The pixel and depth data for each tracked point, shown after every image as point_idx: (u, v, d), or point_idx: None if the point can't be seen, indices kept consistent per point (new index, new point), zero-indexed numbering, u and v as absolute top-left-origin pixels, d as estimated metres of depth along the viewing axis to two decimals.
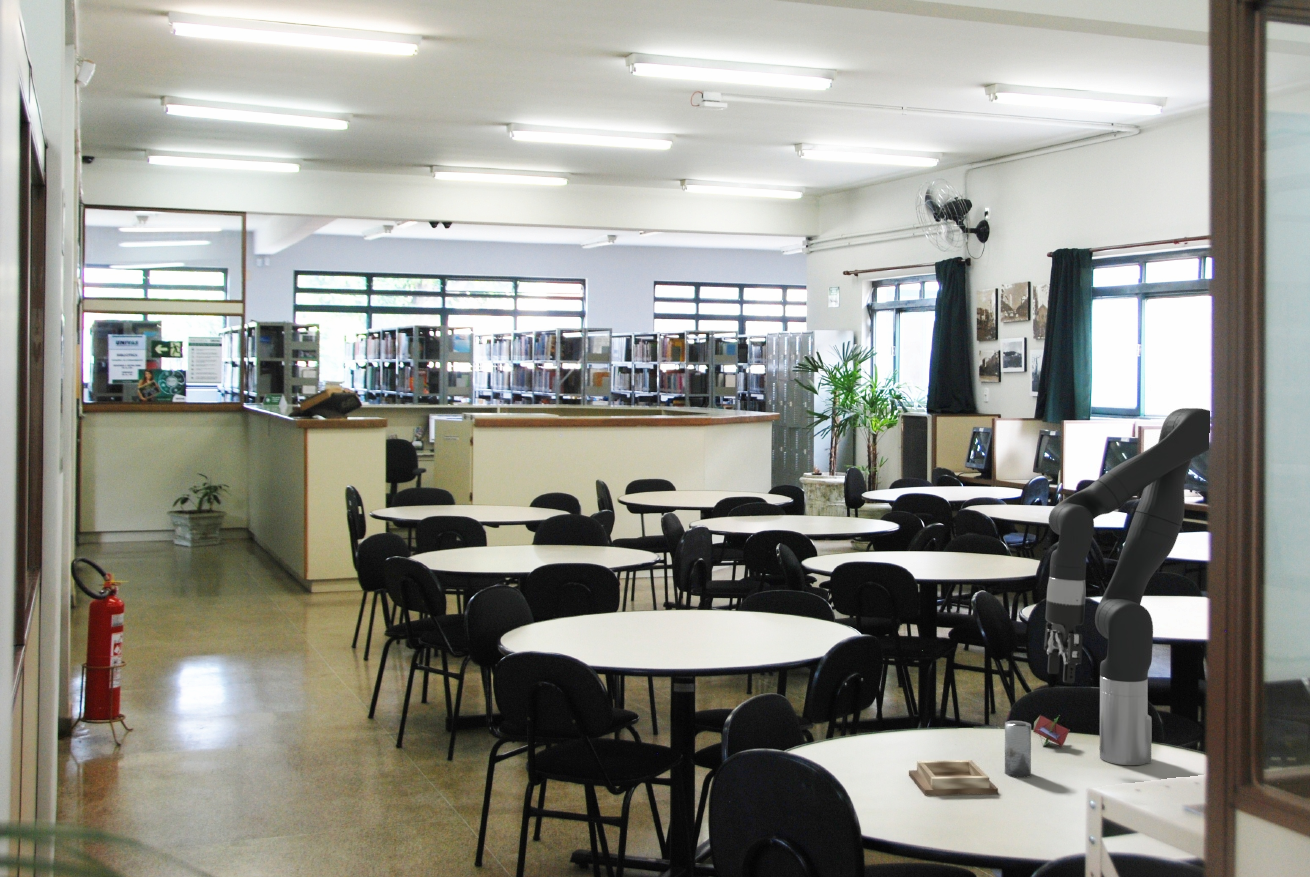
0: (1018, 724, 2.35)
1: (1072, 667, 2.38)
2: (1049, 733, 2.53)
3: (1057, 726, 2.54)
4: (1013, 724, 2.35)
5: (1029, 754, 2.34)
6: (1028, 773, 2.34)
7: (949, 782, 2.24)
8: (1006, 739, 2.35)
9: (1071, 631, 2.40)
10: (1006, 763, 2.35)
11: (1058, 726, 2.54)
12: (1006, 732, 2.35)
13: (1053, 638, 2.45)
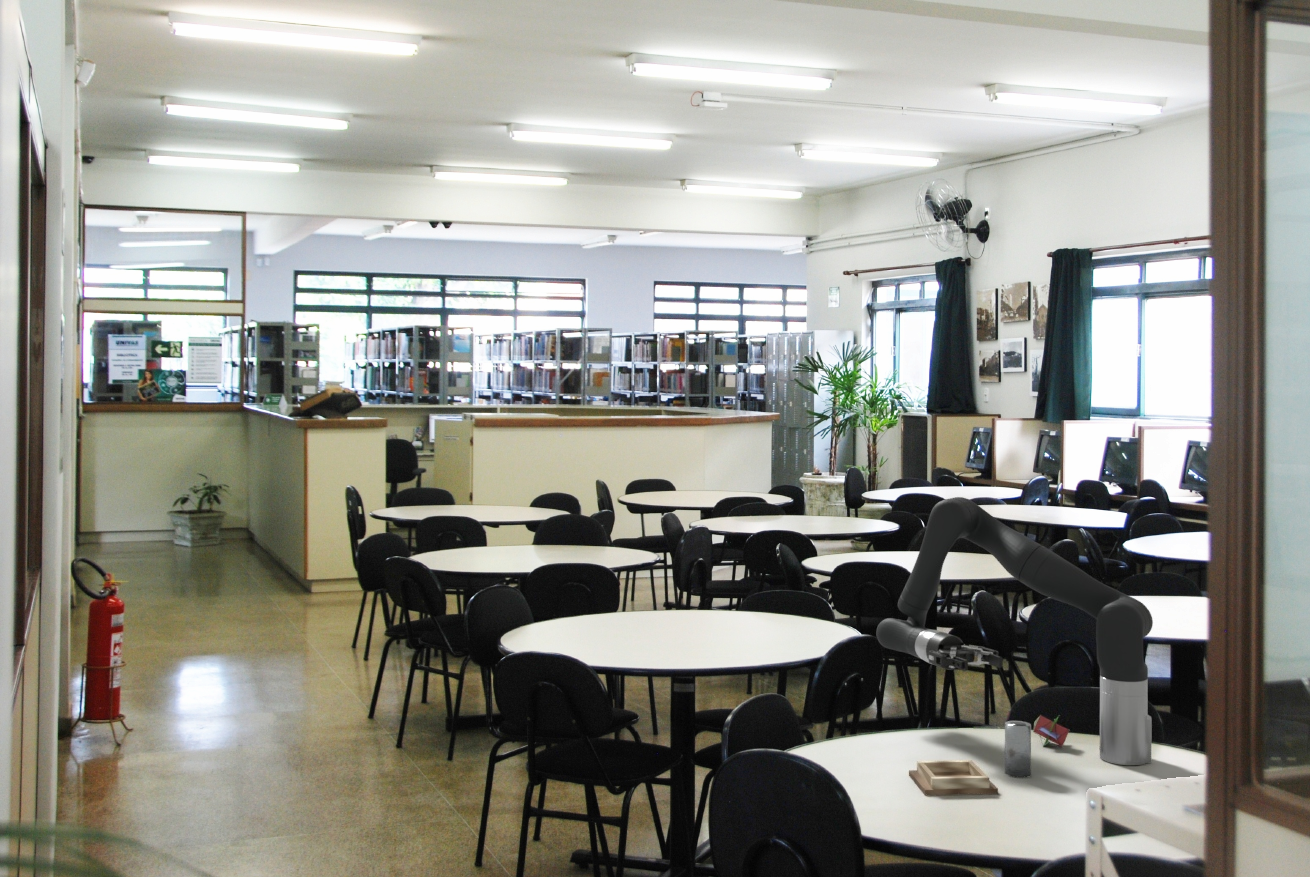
0: (1018, 724, 2.35)
1: (953, 661, 2.47)
2: (1049, 733, 2.53)
3: (1057, 726, 2.55)
4: (1013, 724, 2.35)
5: (1029, 754, 2.34)
6: (1028, 773, 2.34)
7: (949, 782, 2.24)
8: (1006, 739, 2.35)
9: None
10: (1006, 763, 2.35)
11: (1058, 726, 2.54)
12: (1006, 732, 2.35)
13: None
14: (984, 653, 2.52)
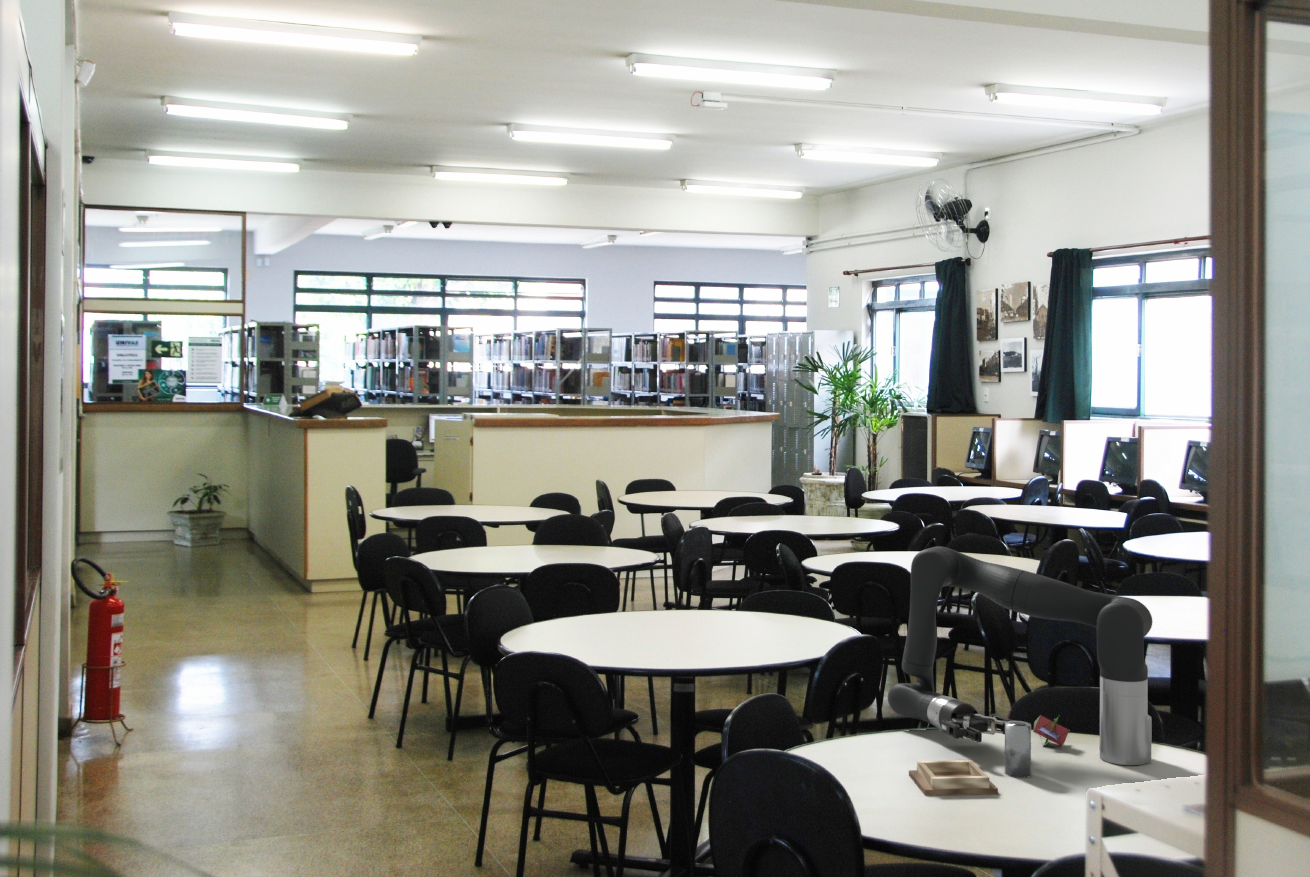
0: (1018, 724, 2.35)
1: (966, 732, 2.43)
2: (1049, 733, 2.53)
3: (1057, 726, 2.54)
4: (1013, 724, 2.35)
5: (1029, 754, 2.34)
6: (1028, 773, 2.34)
7: (949, 782, 2.24)
8: (1006, 740, 2.35)
9: None
10: (1006, 763, 2.35)
11: (1058, 726, 2.54)
12: (1006, 732, 2.35)
13: (980, 731, 2.50)
14: (998, 722, 2.48)
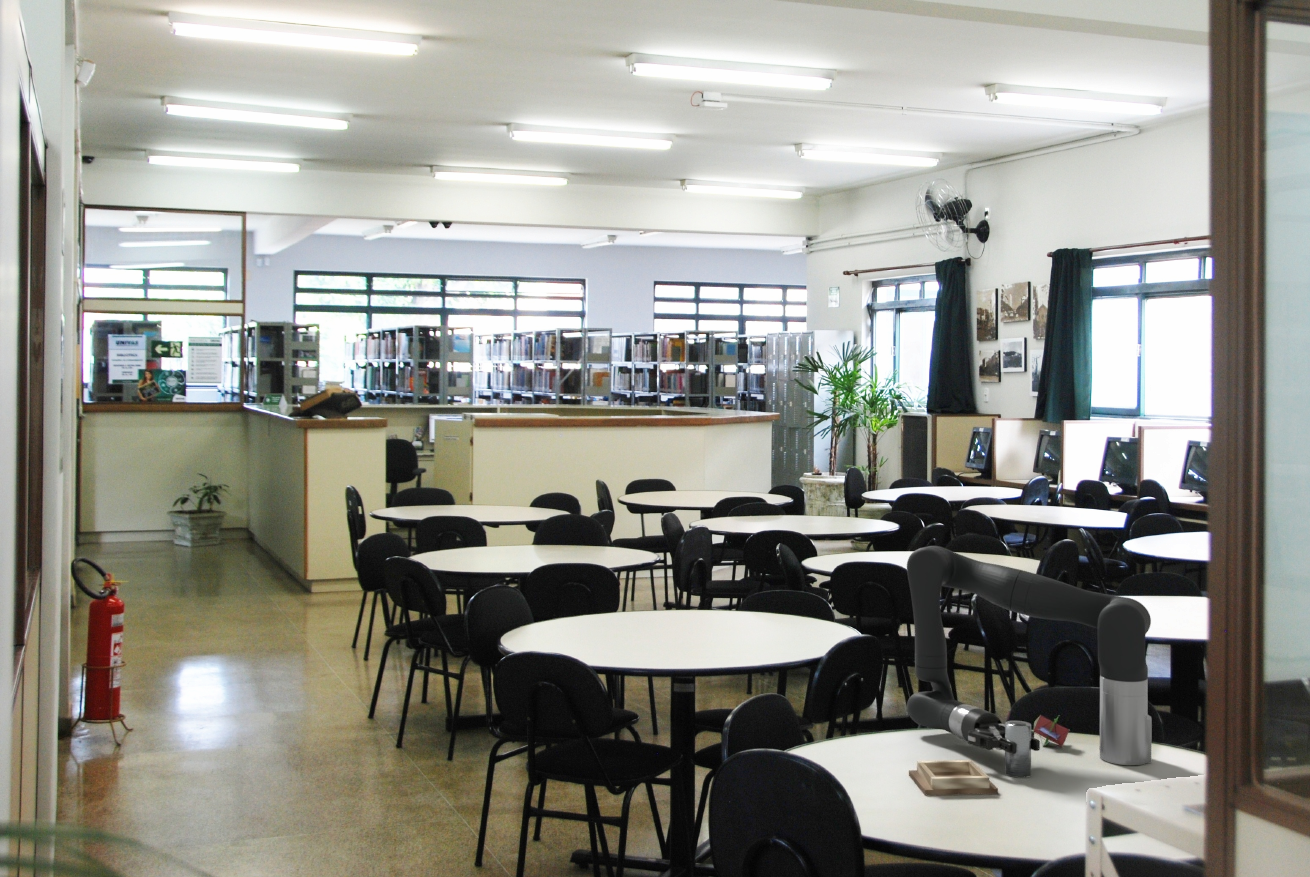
0: (1018, 724, 2.35)
1: (1000, 743, 2.35)
2: (1049, 733, 2.53)
3: (1057, 726, 2.54)
4: (1013, 724, 2.35)
5: (1029, 754, 2.34)
6: (1028, 773, 2.34)
7: (949, 782, 2.24)
8: None
9: None
10: (1006, 763, 2.35)
11: (1058, 726, 2.54)
12: (1006, 732, 2.35)
13: None
14: None
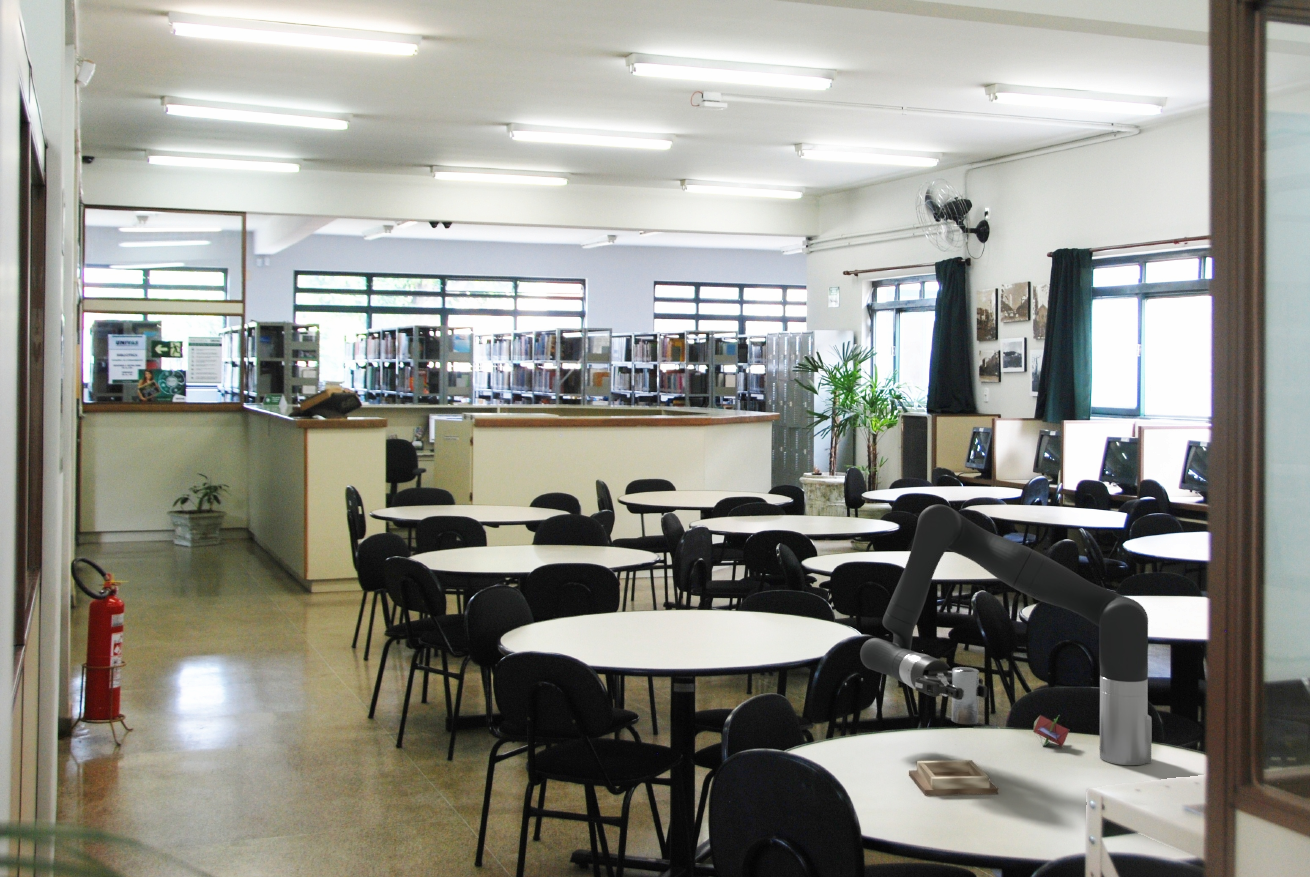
0: (965, 670, 2.30)
1: (946, 689, 2.30)
2: (1049, 733, 2.53)
3: (1057, 726, 2.55)
4: (960, 670, 2.30)
5: (976, 700, 2.29)
6: (975, 720, 2.29)
7: (949, 782, 2.24)
8: None
9: None
10: (953, 710, 2.30)
11: (1058, 726, 2.54)
12: (953, 678, 2.30)
13: None
14: None
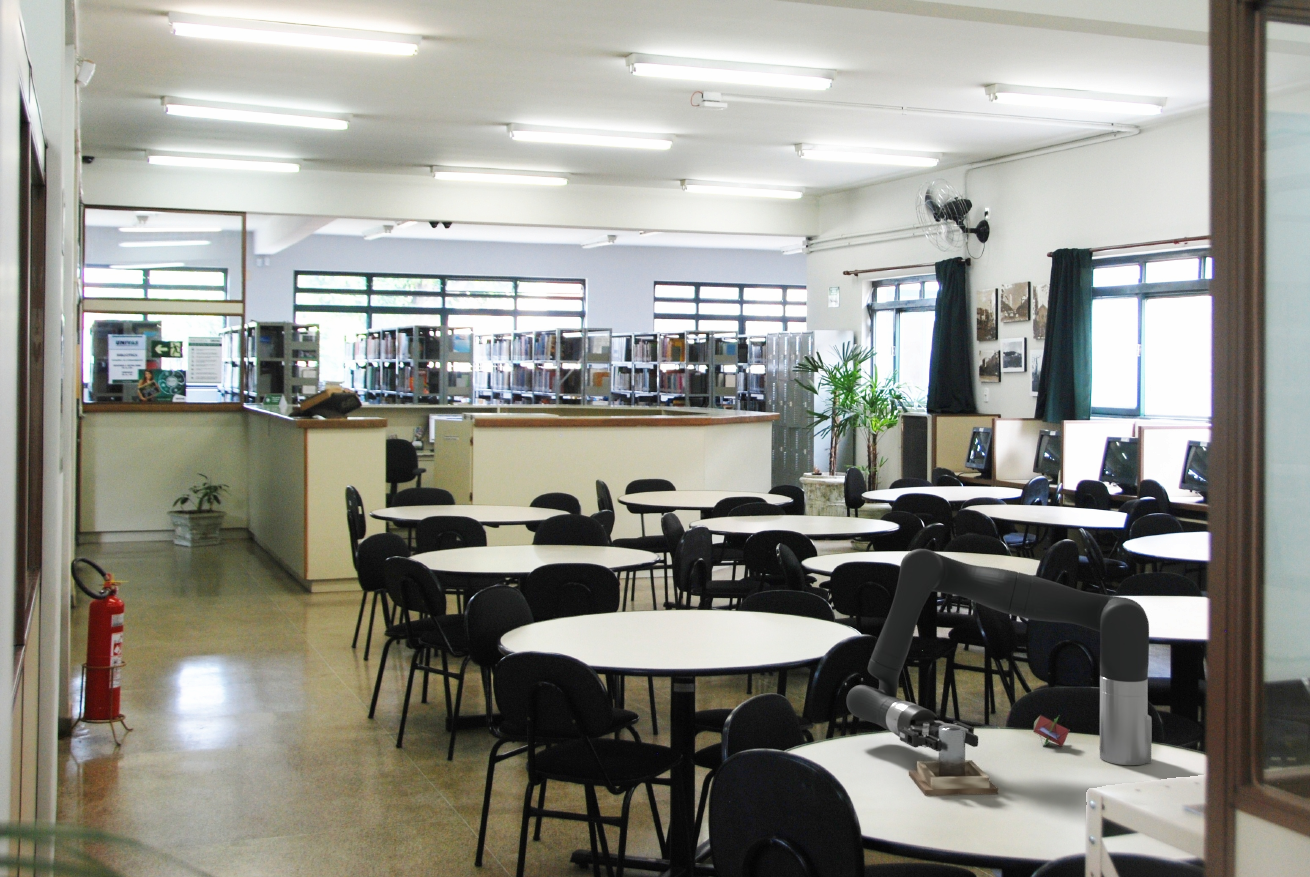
0: (952, 728, 2.28)
1: (926, 740, 2.28)
2: (1049, 733, 2.53)
3: (1057, 726, 2.54)
4: (947, 728, 2.29)
5: (963, 759, 2.27)
6: None
7: (949, 782, 2.24)
8: None
9: (912, 730, 2.36)
10: (940, 768, 2.29)
11: (1058, 726, 2.54)
12: (940, 736, 2.29)
13: None
14: None
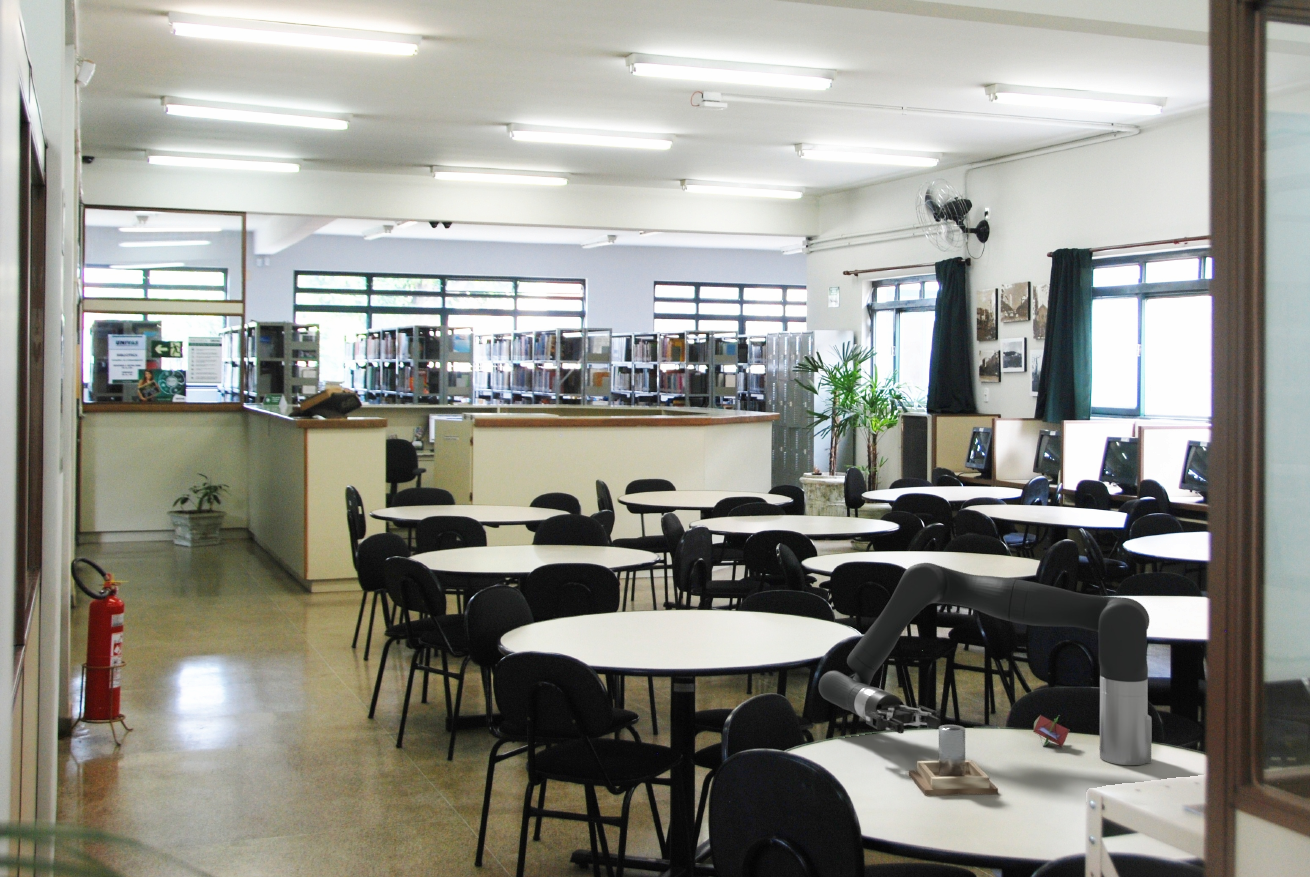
0: (952, 728, 2.29)
1: (889, 723, 2.41)
2: (1049, 733, 2.53)
3: (1057, 726, 2.55)
4: (947, 728, 2.29)
5: (963, 759, 2.27)
6: None
7: (949, 782, 2.24)
8: (939, 744, 2.29)
9: (878, 714, 2.48)
10: (940, 768, 2.29)
11: (1058, 726, 2.54)
12: (940, 736, 2.29)
13: (905, 723, 2.47)
14: (922, 714, 2.45)
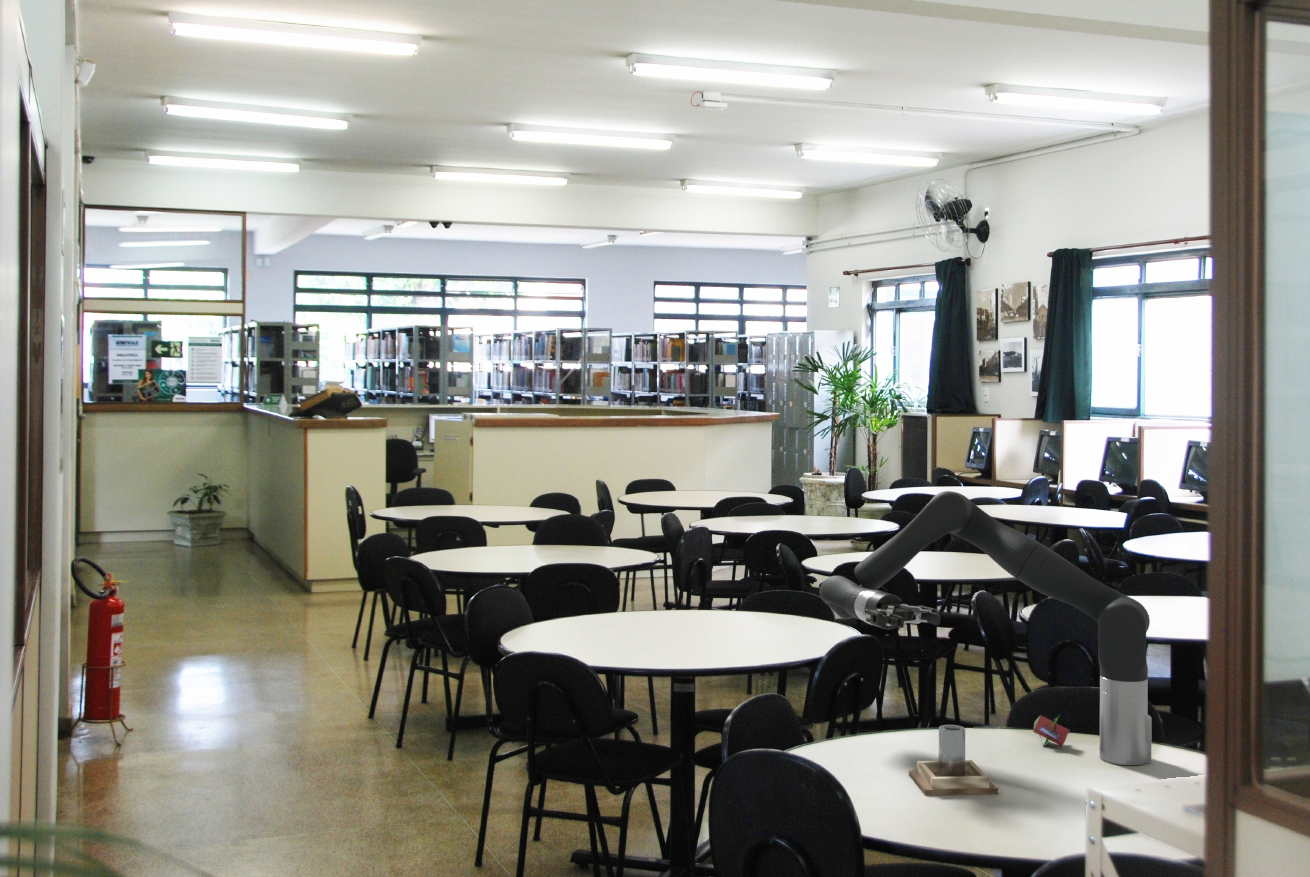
0: (952, 728, 2.29)
1: (889, 619, 2.40)
2: (1049, 733, 2.53)
3: (1057, 726, 2.54)
4: (947, 728, 2.29)
5: (963, 759, 2.27)
6: None
7: (949, 782, 2.24)
8: (939, 744, 2.29)
9: None
10: (940, 768, 2.29)
11: (1058, 726, 2.54)
12: (940, 736, 2.29)
13: (905, 621, 2.47)
14: (922, 611, 2.45)
